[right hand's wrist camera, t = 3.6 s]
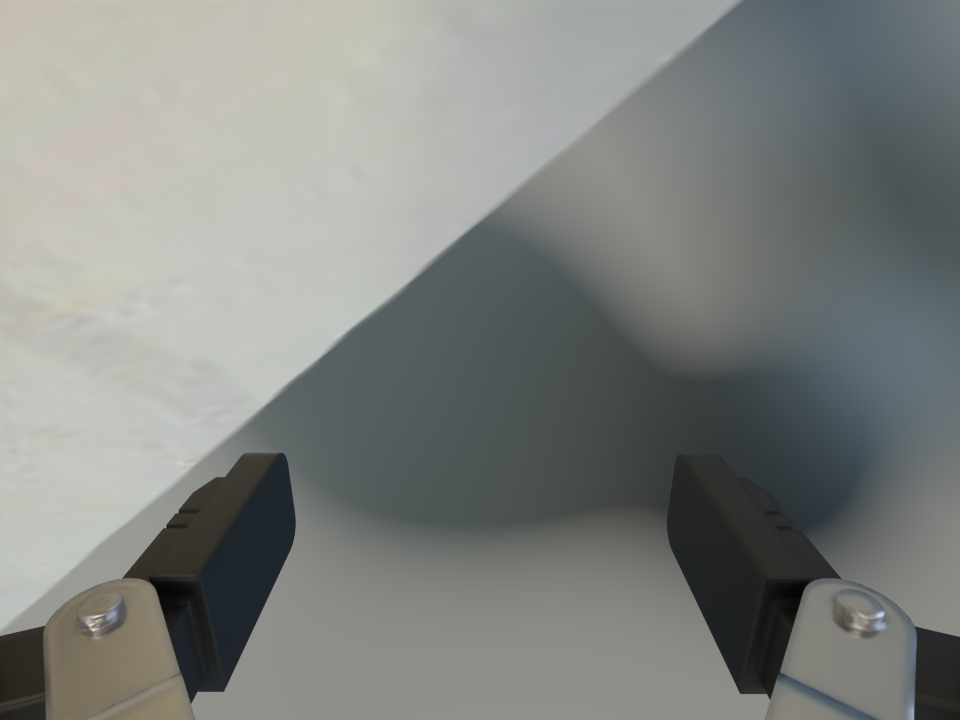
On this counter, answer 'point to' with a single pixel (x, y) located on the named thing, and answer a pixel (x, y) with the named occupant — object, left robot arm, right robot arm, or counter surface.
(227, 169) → the counter surface
